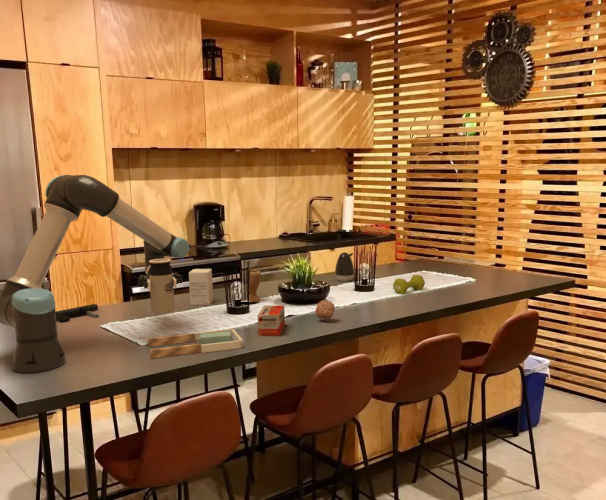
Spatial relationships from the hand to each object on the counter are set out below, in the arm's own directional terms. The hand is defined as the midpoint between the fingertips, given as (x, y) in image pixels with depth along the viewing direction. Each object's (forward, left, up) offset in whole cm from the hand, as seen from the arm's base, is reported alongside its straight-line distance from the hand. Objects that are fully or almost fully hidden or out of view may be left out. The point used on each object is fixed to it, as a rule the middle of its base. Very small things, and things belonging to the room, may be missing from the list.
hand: (162, 285), depth 192 cm
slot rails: (-2, -7, -21) cm, 22 cm away
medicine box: (+34, -19, -21) cm, 44 cm away
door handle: (+3, +62, -21) cm, 65 cm away
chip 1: (+7, -14, -21) cm, 26 cm away
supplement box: (+49, +38, -21) cm, 65 cm away
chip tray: (+10, -15, -21) cm, 27 cm away
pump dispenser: (+127, +13, -21) cm, 129 cm away
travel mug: (+3, +4, -10) cm, 11 cm away
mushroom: (+55, -28, -21) cm, 65 cm away
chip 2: (+11, -17, -21) cm, 29 cm away
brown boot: (+63, +23, -21) cm, 70 cm away
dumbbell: (+121, -29, -21) cm, 126 cm away
